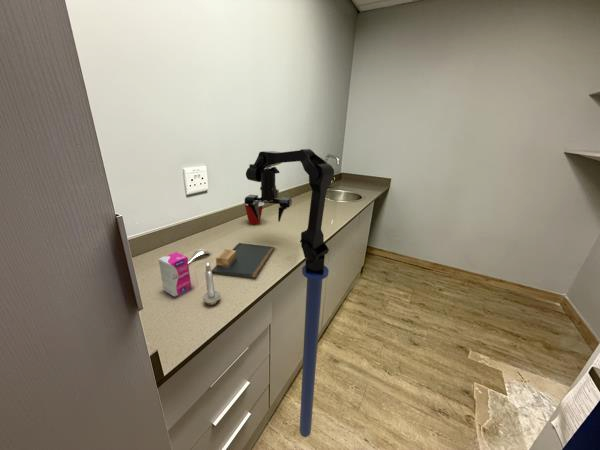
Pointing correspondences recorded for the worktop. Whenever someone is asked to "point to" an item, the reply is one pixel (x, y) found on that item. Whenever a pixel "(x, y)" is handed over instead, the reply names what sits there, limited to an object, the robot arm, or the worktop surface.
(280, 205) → the robot arm
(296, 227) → the worktop surface
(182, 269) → the supplement box
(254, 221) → the plastic cup
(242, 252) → the chalkboard
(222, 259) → the wooden block
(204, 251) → the metal serving spoon
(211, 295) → the screw
